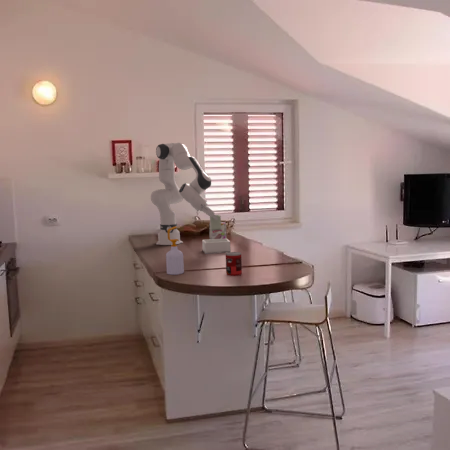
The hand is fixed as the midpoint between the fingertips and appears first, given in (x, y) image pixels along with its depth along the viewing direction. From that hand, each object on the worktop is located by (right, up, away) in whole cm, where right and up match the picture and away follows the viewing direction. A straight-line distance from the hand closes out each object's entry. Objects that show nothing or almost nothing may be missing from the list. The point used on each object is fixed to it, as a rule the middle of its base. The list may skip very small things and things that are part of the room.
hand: (216, 218), depth 354 cm
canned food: (+10, -29, -69) cm, 76 cm away
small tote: (0, -7, +1) cm, 7 cm away
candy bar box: (+1, -19, +21) cm, 28 cm away
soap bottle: (-21, -29, -61) cm, 71 cm away
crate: (0, -21, +2) cm, 21 cm away
